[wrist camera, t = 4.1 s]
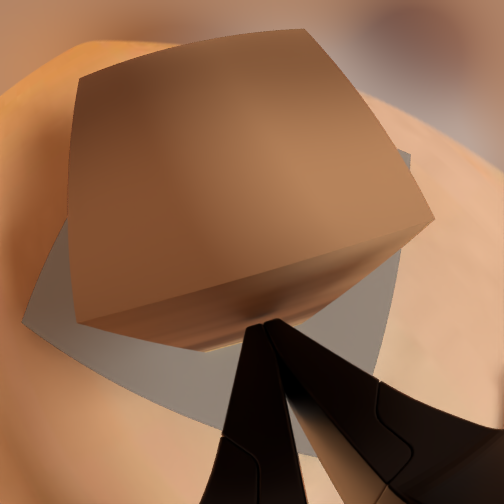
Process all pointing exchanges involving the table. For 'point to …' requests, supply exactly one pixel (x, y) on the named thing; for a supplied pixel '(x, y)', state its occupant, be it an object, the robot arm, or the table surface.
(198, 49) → the walnut block
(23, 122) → the table surface
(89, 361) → the rubber mat
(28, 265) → the table surface
